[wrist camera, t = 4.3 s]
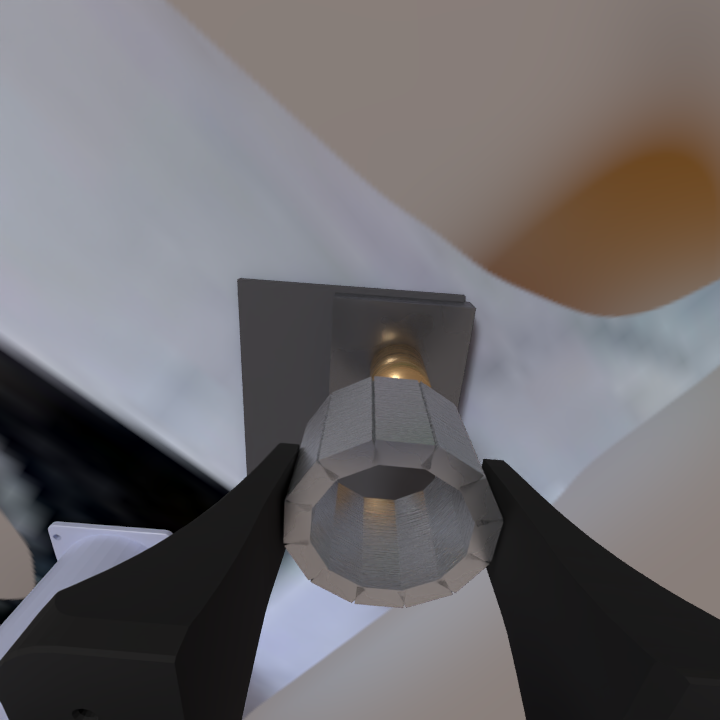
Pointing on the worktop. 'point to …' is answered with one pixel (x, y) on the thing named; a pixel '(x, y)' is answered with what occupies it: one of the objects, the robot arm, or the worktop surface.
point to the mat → (302, 373)
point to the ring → (389, 517)
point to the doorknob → (400, 341)
